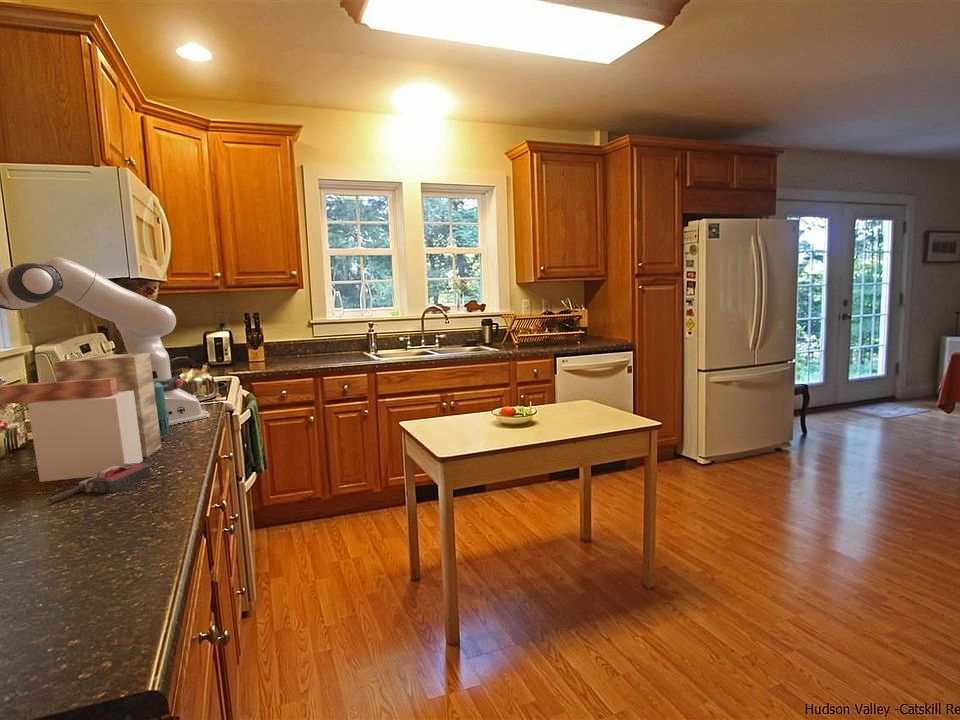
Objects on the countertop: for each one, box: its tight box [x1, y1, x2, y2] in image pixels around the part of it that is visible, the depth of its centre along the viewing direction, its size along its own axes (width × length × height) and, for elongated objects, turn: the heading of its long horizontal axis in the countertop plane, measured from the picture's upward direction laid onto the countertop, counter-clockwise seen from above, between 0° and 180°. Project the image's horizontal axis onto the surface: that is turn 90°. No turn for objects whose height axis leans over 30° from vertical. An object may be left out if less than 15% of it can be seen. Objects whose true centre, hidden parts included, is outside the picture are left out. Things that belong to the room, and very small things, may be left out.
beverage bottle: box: [152, 371, 170, 437], centre depth 161 cm, size 6×7×20 cm
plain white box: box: [27, 391, 144, 483], centre depth 134 cm, size 18×10×18 cm, turn 101°
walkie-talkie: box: [47, 462, 152, 503], centre depth 122 cm, size 9×4×20 cm
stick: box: [0, 377, 118, 405], centre depth 132 cm, size 24×3×4 cm, turn 101°
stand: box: [53, 353, 162, 459], centre depth 146 cm, size 18×10×26 cm, turn 101°
